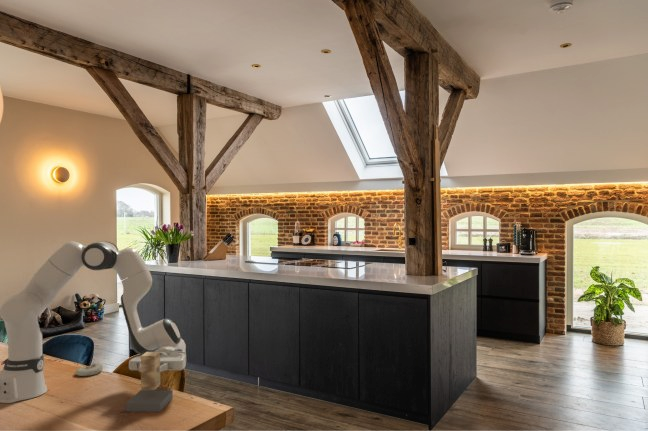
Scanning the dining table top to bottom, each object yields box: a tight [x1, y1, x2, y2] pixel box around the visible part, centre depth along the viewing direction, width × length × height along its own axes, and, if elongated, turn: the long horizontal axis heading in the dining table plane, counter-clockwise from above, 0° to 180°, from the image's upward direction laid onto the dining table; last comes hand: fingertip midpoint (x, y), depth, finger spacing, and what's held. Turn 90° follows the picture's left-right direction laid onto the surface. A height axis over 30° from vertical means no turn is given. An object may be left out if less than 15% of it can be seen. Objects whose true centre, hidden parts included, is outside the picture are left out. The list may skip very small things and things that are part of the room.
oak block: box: [140, 351, 161, 390], centre depth 168 cm, size 5×5×12 cm
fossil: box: [75, 362, 104, 377], centre depth 203 cm, size 11×4×10 cm
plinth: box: [125, 389, 174, 413], centre depth 168 cm, size 12×12×3 cm
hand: (149, 369), depth 167 cm, fingers closed on oak block, 5 cm apart
